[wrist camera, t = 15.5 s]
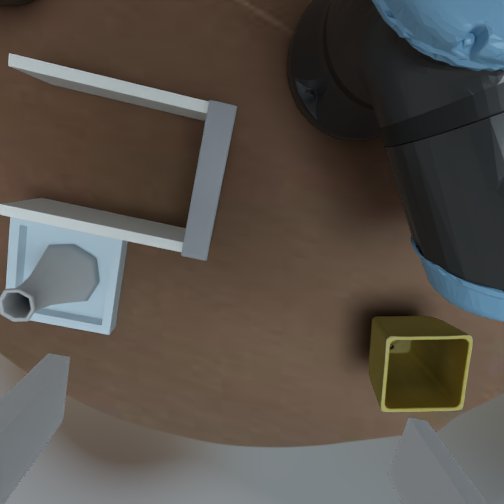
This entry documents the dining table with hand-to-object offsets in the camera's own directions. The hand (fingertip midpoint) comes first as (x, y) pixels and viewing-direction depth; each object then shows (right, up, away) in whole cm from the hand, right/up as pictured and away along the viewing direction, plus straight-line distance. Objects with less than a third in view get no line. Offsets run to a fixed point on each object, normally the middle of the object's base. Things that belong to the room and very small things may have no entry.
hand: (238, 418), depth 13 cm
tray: (-21, +4, +28) cm, 35 cm away
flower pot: (+18, -4, +31) cm, 36 cm away
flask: (-21, +4, +28) cm, 35 cm away
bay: (-13, +16, +25) cm, 33 cm away
